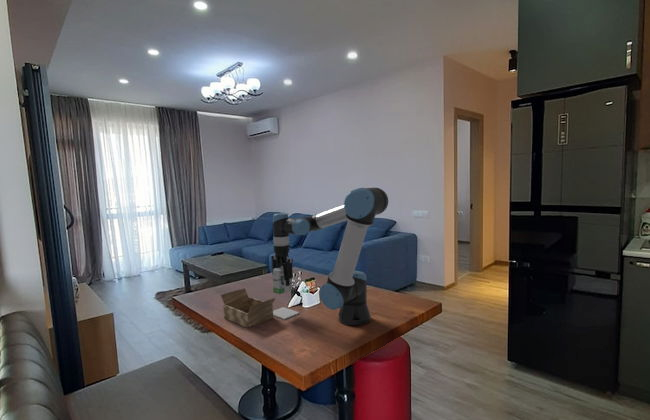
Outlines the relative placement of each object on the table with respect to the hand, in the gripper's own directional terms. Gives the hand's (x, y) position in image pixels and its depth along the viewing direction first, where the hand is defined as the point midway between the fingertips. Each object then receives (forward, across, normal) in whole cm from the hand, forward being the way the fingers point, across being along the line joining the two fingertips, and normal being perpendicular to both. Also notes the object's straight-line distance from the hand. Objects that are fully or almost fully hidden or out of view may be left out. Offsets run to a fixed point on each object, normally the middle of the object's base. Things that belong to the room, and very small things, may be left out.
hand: (282, 290), depth 169 cm
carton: (+12, +10, +14) cm, 21 cm away
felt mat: (+12, 0, 0) cm, 12 cm away
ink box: (0, 0, 0) cm, 0 cm away
